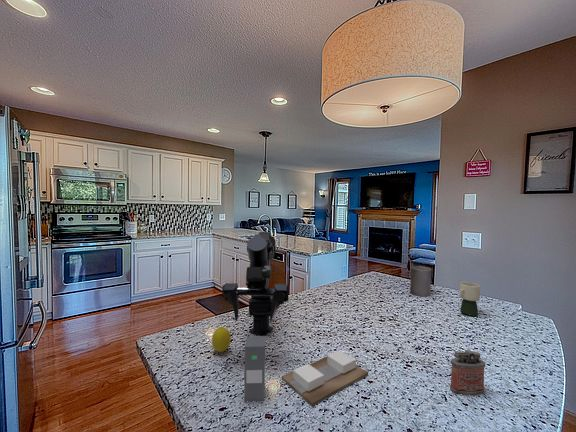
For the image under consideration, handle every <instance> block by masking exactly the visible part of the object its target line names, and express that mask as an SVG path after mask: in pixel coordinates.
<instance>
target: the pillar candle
mask: <svg viewBox="0 0 576 432" xmlns="http://www.w3.org/2000/svg"><path fill="white" fill-rule="evenodd" d="M409 285H410V287H409V289H410V290H409V291H410V292H409V293H410V294H411V295H413V296H415V297H420V298H428V296H429V297H430V296H431V290H432V289H431V287H432V268H431V267H427V266H423V265H413V266H411V267H410V284H409Z"/></svg>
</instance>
